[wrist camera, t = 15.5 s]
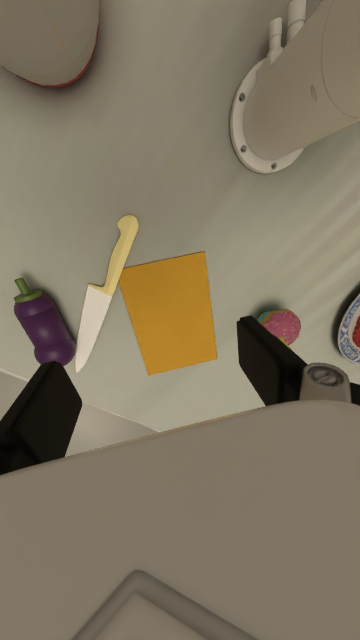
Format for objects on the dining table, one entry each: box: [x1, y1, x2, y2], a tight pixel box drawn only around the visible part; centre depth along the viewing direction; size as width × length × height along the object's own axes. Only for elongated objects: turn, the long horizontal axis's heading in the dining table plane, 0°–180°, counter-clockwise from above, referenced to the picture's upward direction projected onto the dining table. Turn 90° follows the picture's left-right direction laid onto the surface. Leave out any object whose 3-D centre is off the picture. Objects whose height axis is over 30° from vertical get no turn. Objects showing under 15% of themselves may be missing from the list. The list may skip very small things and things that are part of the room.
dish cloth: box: [118, 252, 217, 375], centre depth 42 cm, size 24×16×1 cm, turn 10°
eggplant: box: [14, 278, 76, 366], centre depth 35 cm, size 16×6×6 cm, turn 10°
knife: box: [75, 215, 139, 372], centre depth 37 cm, size 1×32×5 cm
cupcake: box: [257, 309, 301, 348], centre depth 40 cm, size 9×8×12 cm
